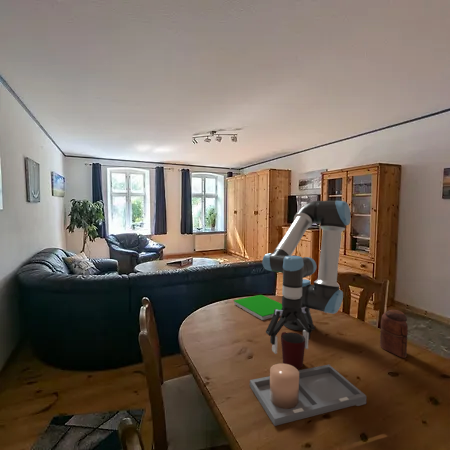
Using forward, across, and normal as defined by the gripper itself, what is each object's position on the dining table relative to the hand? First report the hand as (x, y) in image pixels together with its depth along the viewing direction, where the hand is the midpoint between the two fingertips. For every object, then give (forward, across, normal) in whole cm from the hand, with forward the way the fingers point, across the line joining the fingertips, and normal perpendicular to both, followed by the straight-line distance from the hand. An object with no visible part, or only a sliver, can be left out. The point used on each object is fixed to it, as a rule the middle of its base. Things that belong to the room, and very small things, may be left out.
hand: (290, 349), depth 110 cm
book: (+6, -14, -56) cm, 58 cm away
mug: (+6, 0, 0) cm, 6 cm away
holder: (+6, +4, +18) cm, 19 cm away
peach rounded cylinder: (+5, +12, +18) cm, 22 cm away
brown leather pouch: (+5, -48, +5) cm, 48 cm away
